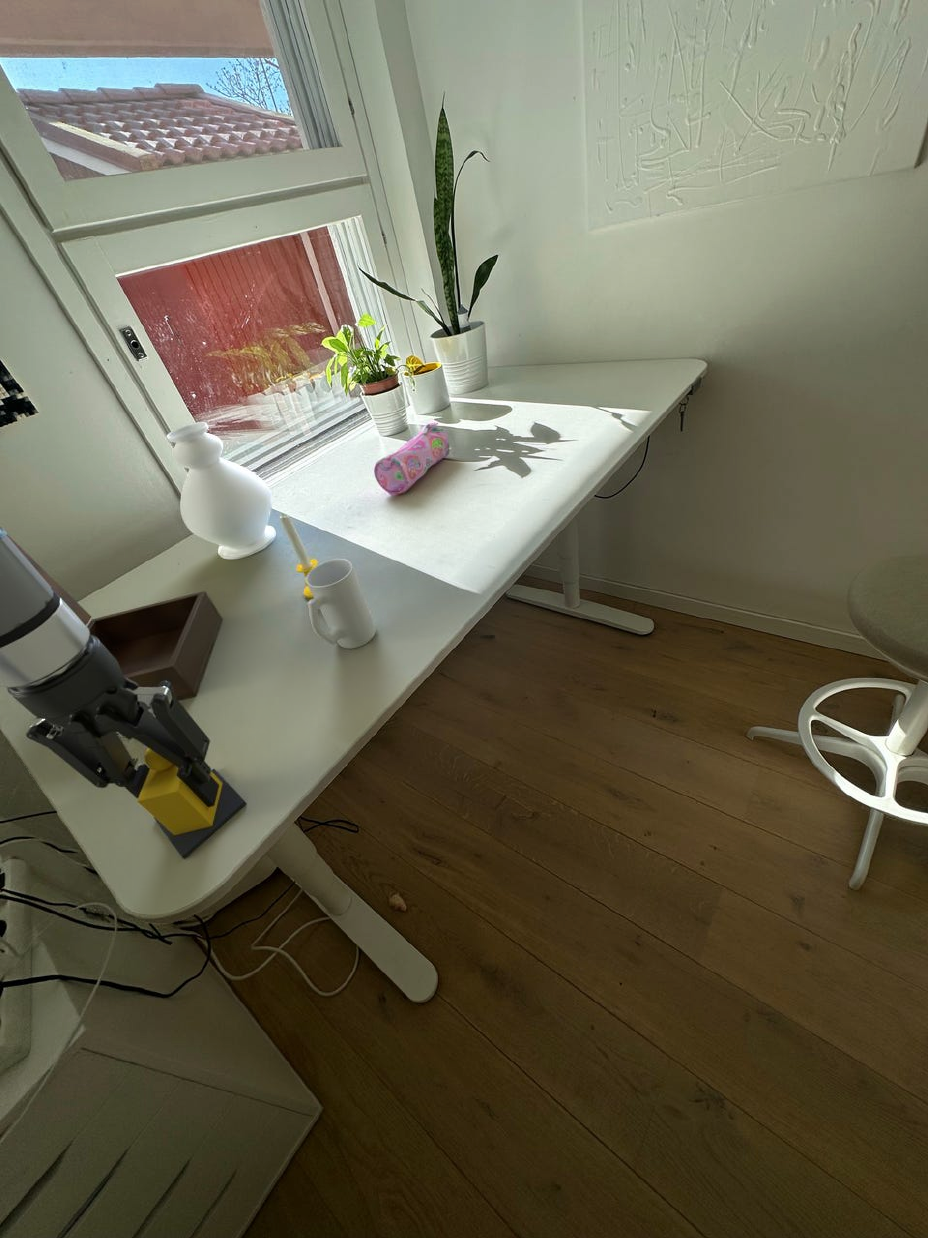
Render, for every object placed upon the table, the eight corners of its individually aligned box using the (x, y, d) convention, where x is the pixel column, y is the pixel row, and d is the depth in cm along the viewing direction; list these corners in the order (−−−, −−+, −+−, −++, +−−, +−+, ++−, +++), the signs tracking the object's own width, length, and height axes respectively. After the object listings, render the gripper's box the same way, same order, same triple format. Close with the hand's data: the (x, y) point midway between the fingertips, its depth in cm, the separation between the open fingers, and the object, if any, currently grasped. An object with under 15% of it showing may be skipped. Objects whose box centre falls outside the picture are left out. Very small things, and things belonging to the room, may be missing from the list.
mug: (351, 618, 84) (324, 556, 76) (385, 623, 81) (361, 560, 74) (314, 661, 78) (281, 599, 70) (350, 669, 75) (319, 605, 67)
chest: (223, 618, 92) (204, 590, 88) (196, 696, 77) (172, 666, 73) (114, 646, 92) (91, 619, 88) (67, 729, 77) (37, 701, 73)
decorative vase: (282, 513, 121) (231, 404, 105) (293, 545, 108) (236, 426, 92) (206, 540, 118) (142, 433, 102) (207, 577, 104) (133, 459, 89)
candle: (321, 578, 95) (286, 502, 86) (338, 585, 92) (304, 507, 83) (298, 594, 93) (260, 518, 83) (315, 602, 90) (277, 524, 80)
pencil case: (426, 455, 131) (417, 419, 125) (457, 455, 126) (449, 419, 120) (377, 496, 117) (365, 458, 112) (410, 499, 113) (398, 460, 107)
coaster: (184, 859, 56) (181, 857, 56) (156, 819, 61) (153, 817, 61) (246, 803, 60) (244, 801, 60) (215, 770, 65) (213, 768, 65)
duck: (174, 835, 58) (119, 785, 52) (190, 782, 64) (142, 731, 57) (212, 826, 58) (161, 774, 52) (225, 773, 64) (180, 721, 57)
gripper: (159, 607, 48) (270, 756, 62) (-23, 655, 48) (131, 791, 63) (131, 663, 42) (260, 812, 57) (-76, 717, 42) (107, 851, 57)
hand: (192, 801), depth 60 cm, fingers closed on duck, 4 cm apart
